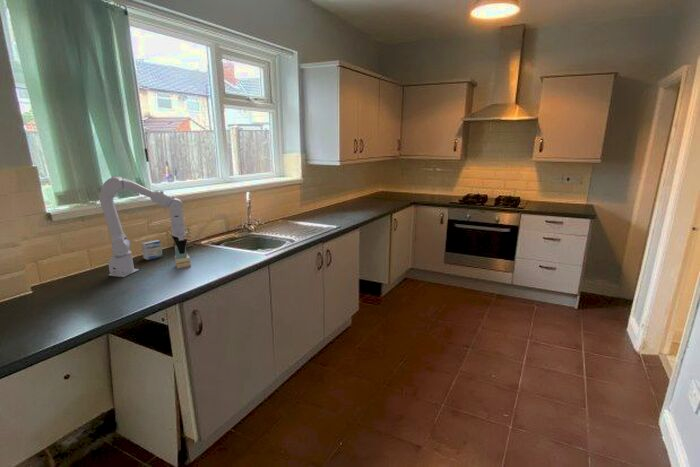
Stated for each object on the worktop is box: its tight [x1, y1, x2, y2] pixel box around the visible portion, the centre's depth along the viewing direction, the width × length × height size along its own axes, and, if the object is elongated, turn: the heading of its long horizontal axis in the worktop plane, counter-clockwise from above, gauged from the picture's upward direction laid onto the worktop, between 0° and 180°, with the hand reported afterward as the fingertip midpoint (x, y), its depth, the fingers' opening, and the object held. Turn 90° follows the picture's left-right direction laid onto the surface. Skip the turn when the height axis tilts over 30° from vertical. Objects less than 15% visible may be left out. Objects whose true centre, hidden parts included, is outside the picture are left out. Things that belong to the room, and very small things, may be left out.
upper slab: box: [174, 253, 191, 265], centre depth 180 cm, size 6×6×2 cm
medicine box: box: [141, 239, 163, 261], centre depth 192 cm, size 8×4×9 cm, turn 143°
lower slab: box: [175, 261, 192, 269], centre depth 181 cm, size 6×6×2 cm
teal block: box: [174, 244, 188, 259], centre depth 179 cm, size 4×4×6 cm
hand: (180, 251), depth 179 cm, fingers open, 7 cm apart
